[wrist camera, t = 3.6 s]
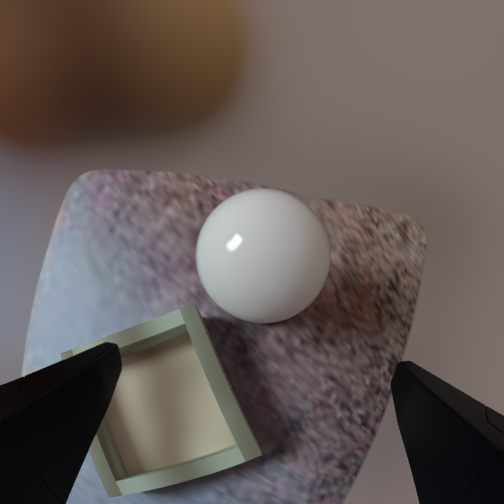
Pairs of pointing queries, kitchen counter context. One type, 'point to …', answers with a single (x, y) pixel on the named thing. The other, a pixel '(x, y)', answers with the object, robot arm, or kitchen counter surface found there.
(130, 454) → the open box
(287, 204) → the lightbulb
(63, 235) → the kitchen counter surface
